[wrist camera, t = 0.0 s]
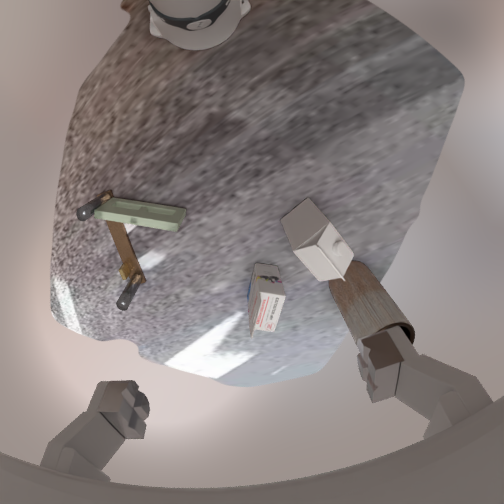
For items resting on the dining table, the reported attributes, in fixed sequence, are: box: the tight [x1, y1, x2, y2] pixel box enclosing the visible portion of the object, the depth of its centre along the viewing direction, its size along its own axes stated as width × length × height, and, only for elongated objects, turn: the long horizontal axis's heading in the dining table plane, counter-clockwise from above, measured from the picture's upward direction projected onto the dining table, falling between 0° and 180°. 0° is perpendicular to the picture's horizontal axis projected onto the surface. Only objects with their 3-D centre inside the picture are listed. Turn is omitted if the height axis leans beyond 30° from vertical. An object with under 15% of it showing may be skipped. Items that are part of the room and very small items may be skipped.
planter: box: [329, 261, 415, 352], centre depth 54 cm, size 10×10×23 cm
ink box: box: [247, 263, 286, 339], centre depth 57 cm, size 8×5×15 cm, turn 168°
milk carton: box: [280, 198, 354, 281], centre depth 50 cm, size 7×7×19 cm
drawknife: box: [77, 190, 146, 311], centre depth 53 cm, size 21×3×11 cm, turn 13°
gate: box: [94, 198, 186, 232], centre depth 50 cm, size 15×1×8 cm, turn 78°
